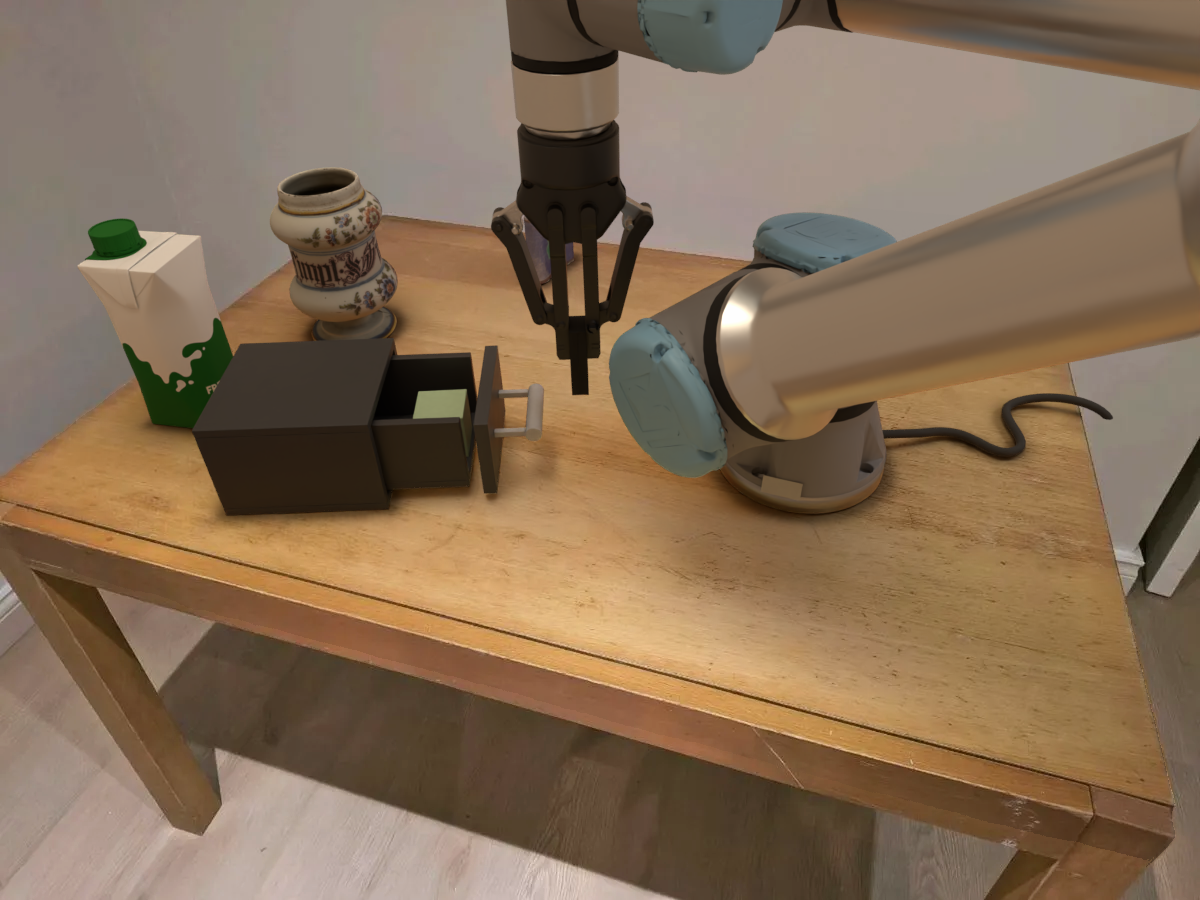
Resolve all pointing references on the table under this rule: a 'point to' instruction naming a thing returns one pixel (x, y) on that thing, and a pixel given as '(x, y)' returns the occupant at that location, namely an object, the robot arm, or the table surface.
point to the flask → (542, 251)
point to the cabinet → (297, 427)
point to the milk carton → (160, 315)
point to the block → (446, 409)
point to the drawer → (446, 421)
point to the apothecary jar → (335, 254)
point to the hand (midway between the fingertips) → (580, 386)
